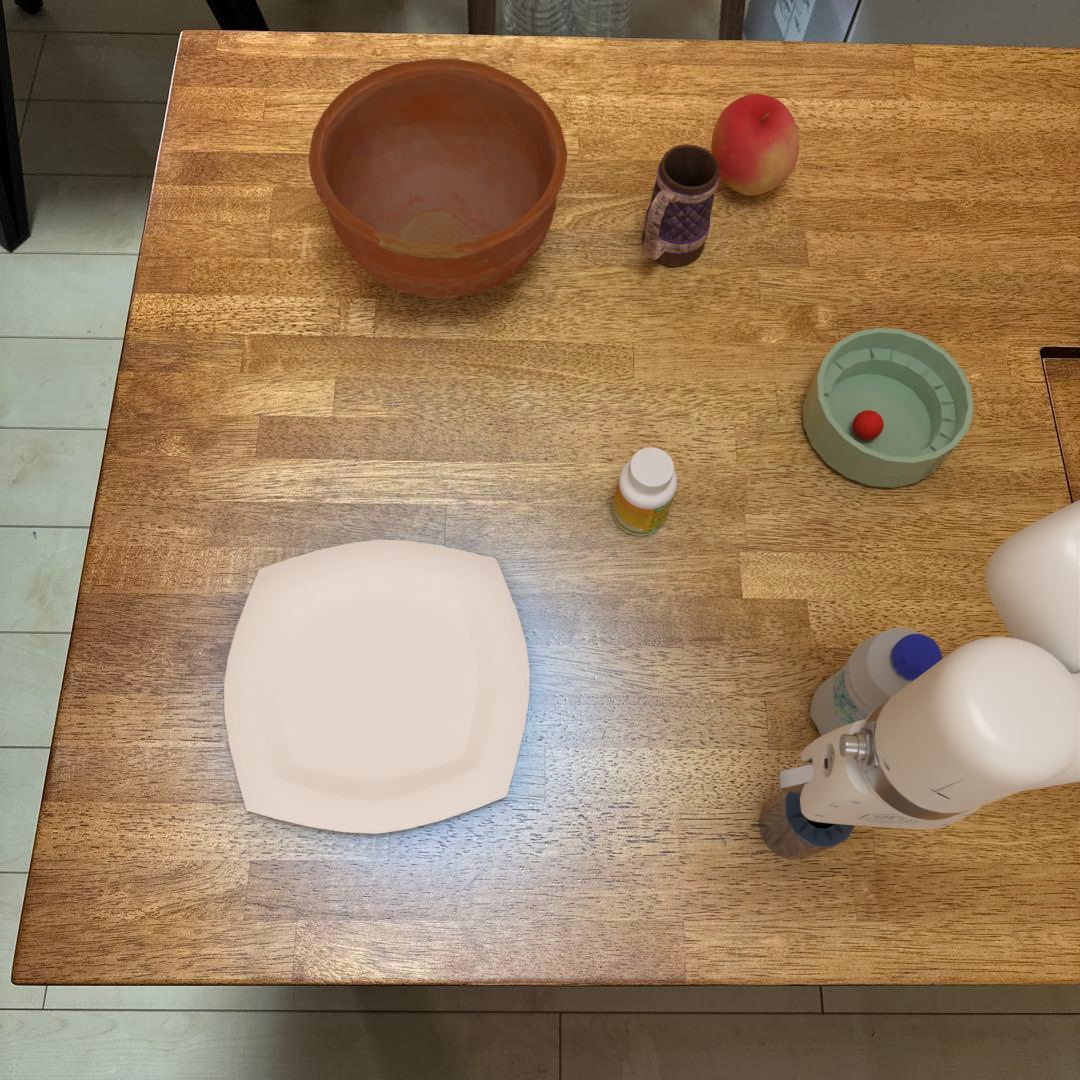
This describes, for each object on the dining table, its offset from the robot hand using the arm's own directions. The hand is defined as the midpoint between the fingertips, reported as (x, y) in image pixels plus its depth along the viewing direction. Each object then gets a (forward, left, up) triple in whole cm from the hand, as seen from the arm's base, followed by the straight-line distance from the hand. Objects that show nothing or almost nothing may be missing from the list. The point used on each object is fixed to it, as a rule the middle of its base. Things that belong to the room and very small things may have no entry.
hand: (838, 801), depth 77 cm
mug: (+12, -61, -13) cm, 63 cm away
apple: (+3, -72, -13) cm, 73 cm away
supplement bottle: (+14, -29, -13) cm, 35 cm away
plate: (+37, -10, -13) cm, 41 cm away
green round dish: (-10, -41, -12) cm, 44 cm away
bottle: (-4, -10, -13) cm, 17 cm away
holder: (0, 0, -12) cm, 12 cm away
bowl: (+36, -59, -13) cm, 70 cm away
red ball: (-8, -39, -10) cm, 42 cm away
